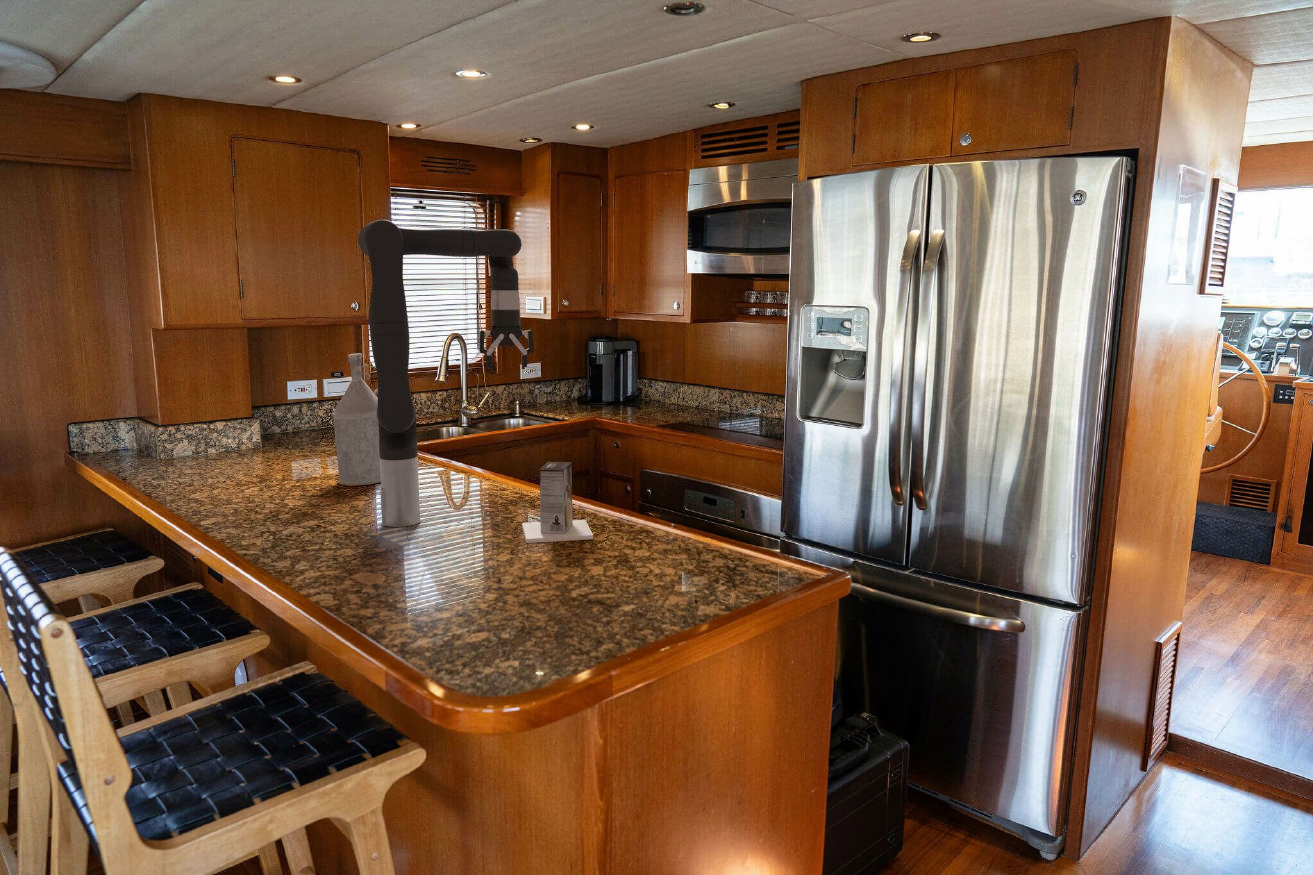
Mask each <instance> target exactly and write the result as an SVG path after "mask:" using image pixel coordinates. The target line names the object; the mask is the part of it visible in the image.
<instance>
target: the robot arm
mask: <svg viewBox="0 0 1313 875" xmlns="http://www.w3.org/2000/svg"><path fill="white" fill-rule="evenodd" d="M357 243H358V245H359V249H360V250H361V251H362V253H364V255H366V256H367V257H368V258H369V264H370V272H371V291H370V297H369V305H368V328H369V338H370V345H371V351H372V357H373V362H374V367H375V371H376V380H377V389H378V392H377V397H378V404H377V419H378V424H379V456H380V474H381V482H380V489H379V491H380V508H381V509H380V510H381V512H380V513H381V526H382V527H391V528H402V527H404V528H405V527H410V526H414V525H417V524H419V523H420V522H421V506H420V504H421V503H420V502H421V501H420V482H419V481H420V480H419V478H420V477H419V463H418V462H419V460H418V458H419V456H418V436H417V434H418V433H417V411H416V405H415V403H414V401H413V399H412V394H411V388H410V380H409V379H410V378H409V364H410V328H409V325H410V324H409V317H408V308H407V307H408V306H407V301H406V300H407V298H406V293H405V286H404V256H415V255H416V256H418V255H419V256H422V255H423V256H436V257H437V256H438V257H452V258H453V257H454V258H478V257H479V258H480V257H487V259H488V264H489V270H490V273H491V282H490V283H491V294H490V296H491V297H490V310H491V312H490V315H491V329H490V330H483V329H480V330H479V349H478V351H479V354H482V355H485V356H486V367H487V368H488V369H489V370H490V371H492V370H493V355H492V354H493V353H494V351H495V350H496V348H497V347H498V346H499V347H500V348H501V347H503V348H504V347H514V346H516V347H517V348H518V349H519V351H520V353H521V354H520V356H521V358H520V359H521V370H526V369H525V368H527V367H528V355H529V354H532V353H533V354H534V351H535V349H534V346H535V345H534V335H533V333H534V332H533V330H532V329H528V330H522V328H521V300H520V299H521V298H520V293H519V292H520V290H519V289H520V288H519V284H520V283H519V274H518V273H519V272H518V270H517V269H516V268H515V267H514V259H513V257H515V256H517V255H518V254H519V253H520V251H521V249H522V245H523V244H522V239H521V237H520V236H519V234H517V232H515V231H513V230H510V229H485V230H483V229H476V228H475V229H473V228H452V227H451V228H449V227H447V228H429V229H419V228H417V229H416V228H414V229H413V228H405V227H404V228H403V227H398V225H397V224H396V223H394V222H393V221H390V220H388V219H378V220H374V221H371V222H369V223H366V225H364V226H363V227H362V228H361V229H360V231H359V233H358V237H357ZM489 336H490V337H491V338H492V340H493V342H492V343H491V345H490V346H489V348H488V349H486V348H485V339H488V337H489ZM522 336H524V338H525V339H527V342H528V343H527V345H528V348H526V349H525V347H524V346H523V344H522V343H520V340H521V338H522Z"/></svg>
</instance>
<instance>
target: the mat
mask: <svg viewBox="0 0 1313 875" xmlns="http://www.w3.org/2000/svg"><path fill="white" fill-rule="evenodd" d="M521 525H522V527H521V528H522V532H523V535H524V539H525V543H526V544H531V543H532V544H534V543H536V544H537V543H549V542H566V541H568V542H569V541H582V540H586V541H587V540H594V534H593V532H592V530H591V528H590V526H589V524H588V522H587V520H586V519H573V524H572V525H571V527H570V528H569V529H568V531H567V532H566V534H548V533H541V523H540V521H535V522H523V523H522V524H521Z"/></svg>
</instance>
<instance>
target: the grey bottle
mask: <svg viewBox="0 0 1313 875" xmlns="http://www.w3.org/2000/svg"><path fill="white" fill-rule="evenodd" d="M347 356H348V360H347V361H348V362H349V366H350V374H351V381H350V383H349V385H348V387H347V388H346V390H345V392H344V394H343V395H342V397H341V399H340V401H339V402H338V404H337V406H336V408H335V410H334V411H333V412H332V415H333V425H334V426H333V428H334V437H335V448H336V457H337V458H336V460H337V470H338V472H337V473H338V483H339V484H340V485H341V486H342V485H343V486H347V487H350V486H353V487H355V486H367V485H368V486H369V485H372V484H377V483H378V484H379V483H381V474H380V456H379V424H378V419H377V404H378V388H376V389H374V391H373V390H372V389H371V388H370V387H369V385H368V384H367V383H366V382H365V380H364V379H363V375H365V378H366V379H367V381H369V380H370V379H371V374H369V372H368V371H369V370H368V368H369V364H368V363H364V364H362V363H363V360H362V358H363V353H360V352H359V353H351V354H350V353H349V354H348V355H347ZM364 367H367V368H366V372H362V368H364Z"/></svg>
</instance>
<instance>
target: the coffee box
mask: <svg viewBox="0 0 1313 875" xmlns="http://www.w3.org/2000/svg"><path fill="white" fill-rule="evenodd" d="M572 466H573V462H572V461H571V462H570V461H563V462H562V461H547V462H546V463H544V465H543V466H541V467H540V469H539V471H538V473H539V474H538V475H539V476H538V477H539V510H540V511H539V514H540V518H539V520H540V521H539V522H540V523H541V533H548V534H566V532H567V531H568V529H569V528H570V527H571V525H572V524H573V520H574V519H573V472H572V471H573V468H572Z"/></svg>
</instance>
